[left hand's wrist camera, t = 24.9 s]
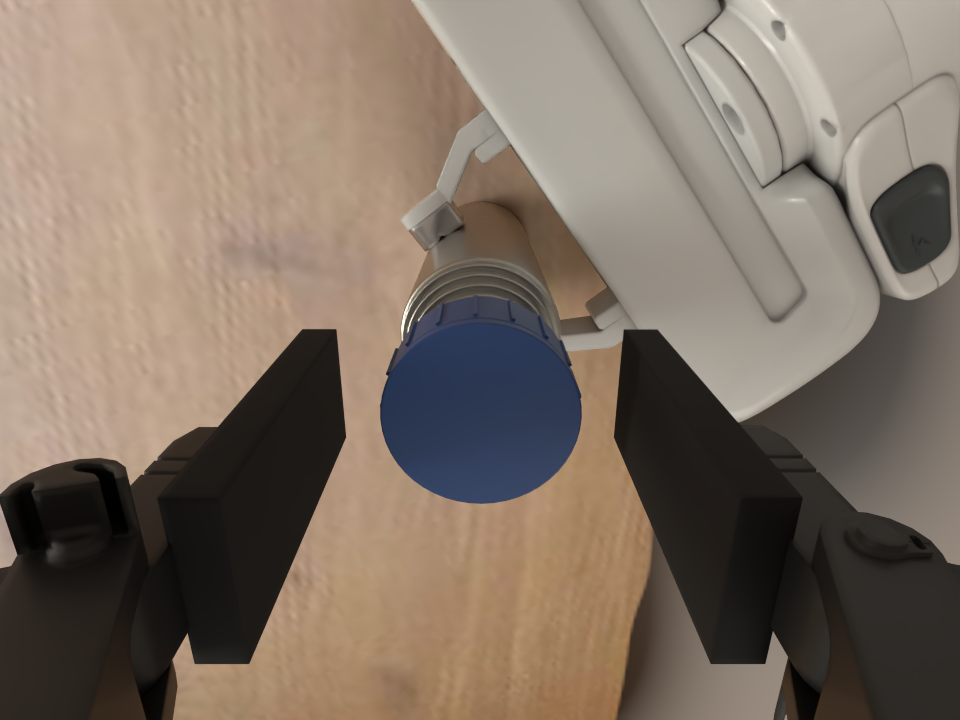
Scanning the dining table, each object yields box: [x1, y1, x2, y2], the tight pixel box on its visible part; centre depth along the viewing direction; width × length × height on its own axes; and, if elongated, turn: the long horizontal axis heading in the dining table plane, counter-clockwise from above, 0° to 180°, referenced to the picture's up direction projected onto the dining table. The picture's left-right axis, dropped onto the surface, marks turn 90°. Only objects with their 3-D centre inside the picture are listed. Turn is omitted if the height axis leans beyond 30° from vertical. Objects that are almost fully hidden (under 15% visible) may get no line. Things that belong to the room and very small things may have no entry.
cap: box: [380, 295, 582, 504], centre depth 13 cm, size 4×4×2 cm
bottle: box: [401, 202, 561, 342], centre depth 21 cm, size 4×4×17 cm
